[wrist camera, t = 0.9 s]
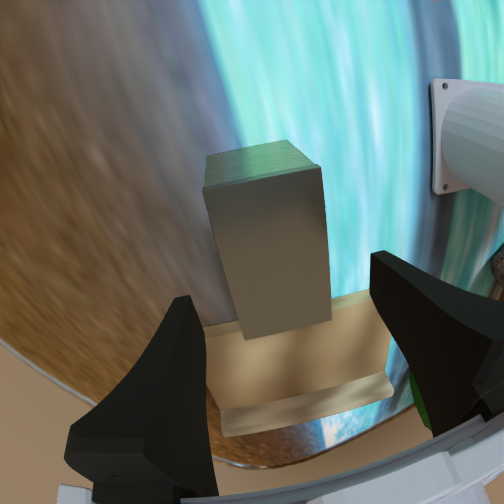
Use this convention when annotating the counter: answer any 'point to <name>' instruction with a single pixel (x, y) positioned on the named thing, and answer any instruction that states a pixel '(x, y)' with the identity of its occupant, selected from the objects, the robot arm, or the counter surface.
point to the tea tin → (271, 236)
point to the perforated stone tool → (498, 266)
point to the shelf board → (299, 369)
